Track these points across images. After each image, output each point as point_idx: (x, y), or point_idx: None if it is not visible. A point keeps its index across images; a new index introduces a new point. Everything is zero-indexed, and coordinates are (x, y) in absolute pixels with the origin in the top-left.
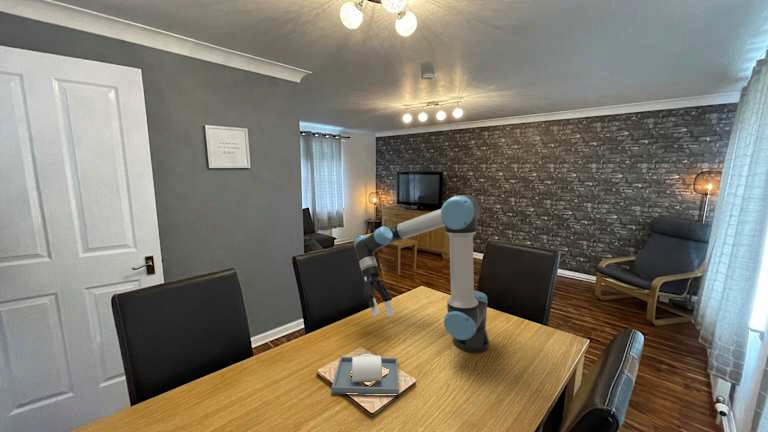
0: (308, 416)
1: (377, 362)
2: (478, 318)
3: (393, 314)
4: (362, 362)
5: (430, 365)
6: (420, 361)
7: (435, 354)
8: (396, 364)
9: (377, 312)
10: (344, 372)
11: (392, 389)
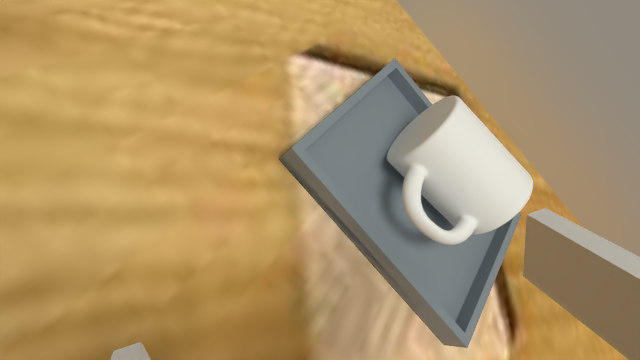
0: (544, 201)
1: (468, 108)
2: None
3: (138, 350)
4: (507, 151)
5: (173, 36)
6: (181, 85)
7: (52, 41)
8: (325, 126)
9: (563, 227)
10: (463, 262)
11: (406, 73)
